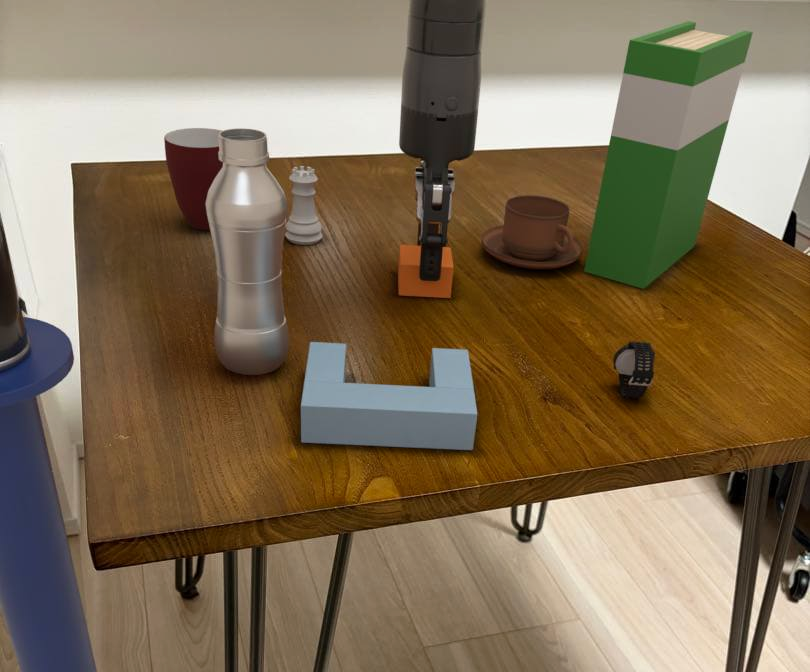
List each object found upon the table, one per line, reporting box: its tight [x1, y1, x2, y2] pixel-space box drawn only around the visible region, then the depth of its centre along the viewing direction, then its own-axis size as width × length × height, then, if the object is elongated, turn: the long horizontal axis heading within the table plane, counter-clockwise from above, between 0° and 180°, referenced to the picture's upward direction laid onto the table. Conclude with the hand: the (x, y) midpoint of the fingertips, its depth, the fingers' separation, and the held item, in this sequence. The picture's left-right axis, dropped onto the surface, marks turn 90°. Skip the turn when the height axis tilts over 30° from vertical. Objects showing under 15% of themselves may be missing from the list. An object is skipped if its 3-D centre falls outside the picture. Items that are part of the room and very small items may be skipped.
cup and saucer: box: [481, 194, 584, 270], centre depth 105 cm, size 12×12×6 cm
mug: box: [163, 127, 223, 231], centre depth 106 cm, size 11×8×10 cm
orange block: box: [397, 244, 455, 299], centre depth 97 cm, size 6×6×4 cm
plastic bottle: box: [205, 127, 290, 376], centre depth 76 cm, size 6×7×20 cm
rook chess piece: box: [284, 165, 323, 246], centre depth 104 cm, size 4×4×8 cm
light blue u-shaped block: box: [300, 341, 478, 451], centre depth 76 cm, size 14×11×4 cm
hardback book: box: [583, 21, 754, 290], centre depth 102 cm, size 18×7×24 cm, turn 147°
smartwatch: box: [612, 341, 656, 399], centre depth 81 cm, size 4×5×5 cm
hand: (428, 263), depth 97 cm, fingers open, 8 cm apart
